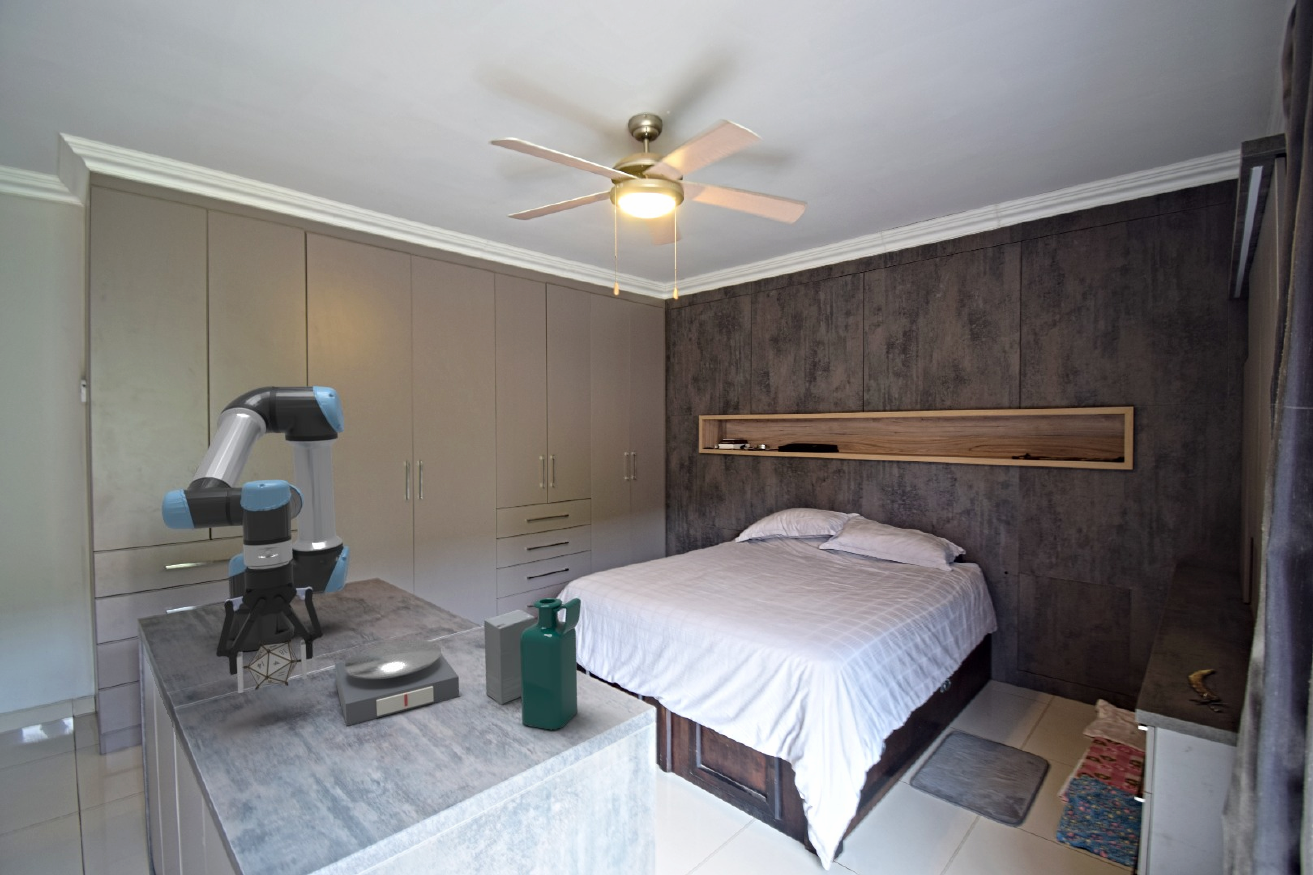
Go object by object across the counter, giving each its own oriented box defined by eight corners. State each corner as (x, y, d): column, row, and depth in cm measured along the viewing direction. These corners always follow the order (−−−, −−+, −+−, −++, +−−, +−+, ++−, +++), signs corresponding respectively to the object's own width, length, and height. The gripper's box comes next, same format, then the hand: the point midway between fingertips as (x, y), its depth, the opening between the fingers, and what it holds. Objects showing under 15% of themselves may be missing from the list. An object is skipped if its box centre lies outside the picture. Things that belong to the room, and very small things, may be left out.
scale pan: (341, 661, 124) (340, 652, 124) (430, 642, 134) (430, 634, 134) (350, 693, 109) (350, 683, 109) (450, 669, 119) (450, 660, 119)
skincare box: (520, 681, 124) (518, 607, 123) (539, 692, 119) (537, 614, 118) (483, 695, 118) (481, 616, 118) (501, 707, 113) (499, 625, 112)
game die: (277, 707, 109) (265, 680, 103) (240, 688, 110) (226, 659, 104) (315, 667, 116) (306, 639, 110) (280, 649, 117) (270, 620, 111)
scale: (335, 681, 125) (334, 663, 125) (433, 659, 136) (433, 642, 136) (347, 727, 106) (346, 706, 106) (460, 697, 117) (459, 678, 117)
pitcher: (517, 725, 106) (514, 603, 105) (542, 703, 114) (540, 591, 113) (565, 734, 103) (562, 609, 102) (587, 711, 110) (585, 595, 110)
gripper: (191, 578, 100) (197, 707, 101) (337, 559, 112) (341, 675, 113) (196, 568, 106) (201, 690, 107) (334, 551, 118) (337, 661, 119)
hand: (273, 682), depth 110 cm, fingers closed on game die, 9 cm apart
